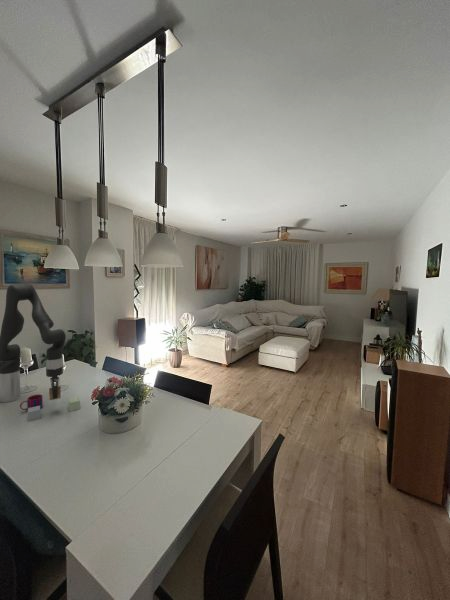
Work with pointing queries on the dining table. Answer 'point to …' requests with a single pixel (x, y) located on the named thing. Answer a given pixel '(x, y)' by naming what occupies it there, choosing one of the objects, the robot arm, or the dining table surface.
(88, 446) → the dining table surface
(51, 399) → the walnut cube
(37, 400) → the mug
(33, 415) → the slate cube
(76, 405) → the sage cube
